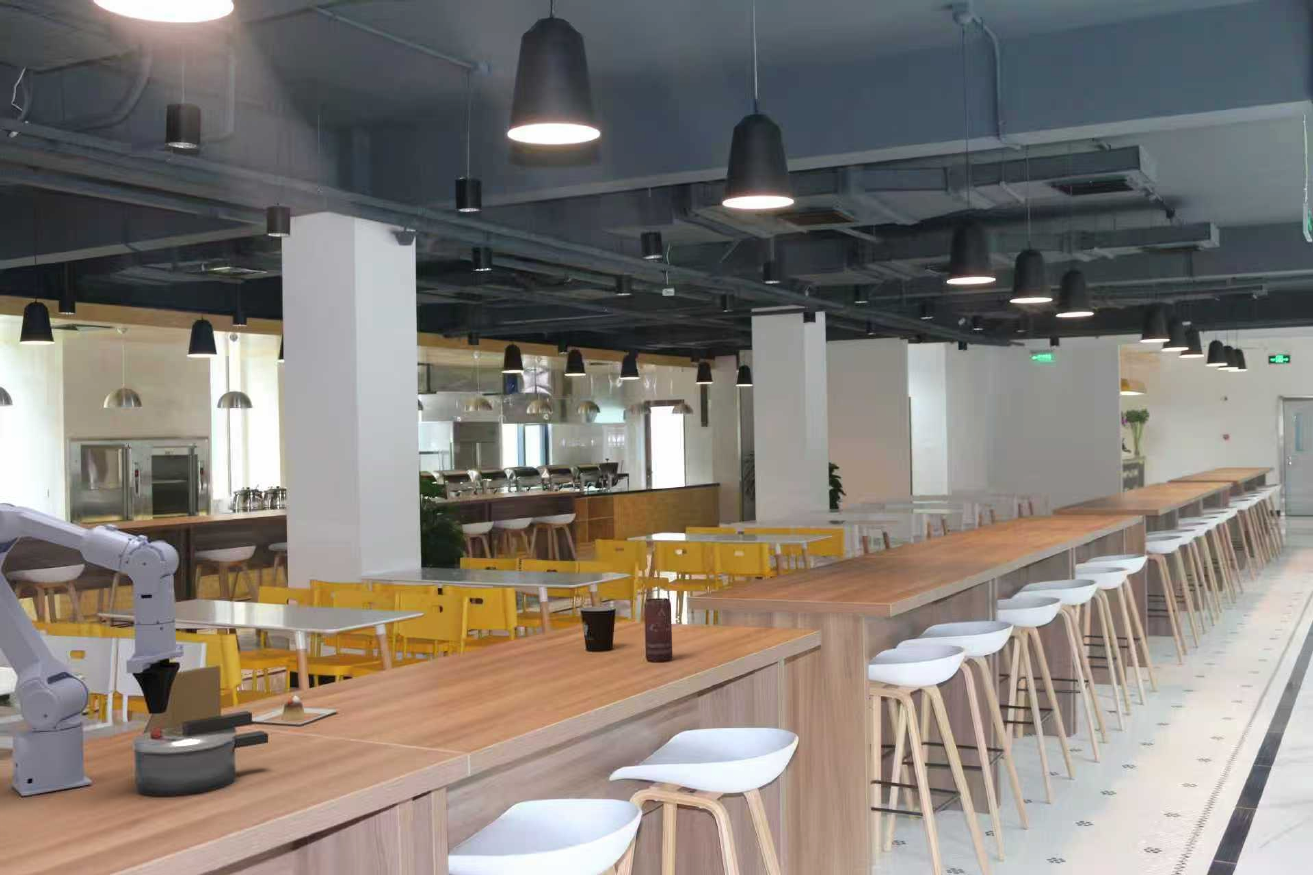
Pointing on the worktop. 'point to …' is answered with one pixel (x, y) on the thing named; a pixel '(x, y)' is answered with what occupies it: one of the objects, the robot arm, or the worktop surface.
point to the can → (658, 630)
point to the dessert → (293, 713)
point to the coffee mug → (598, 628)
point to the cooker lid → (192, 734)
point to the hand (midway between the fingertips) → (157, 712)
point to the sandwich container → (190, 698)
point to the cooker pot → (191, 768)
